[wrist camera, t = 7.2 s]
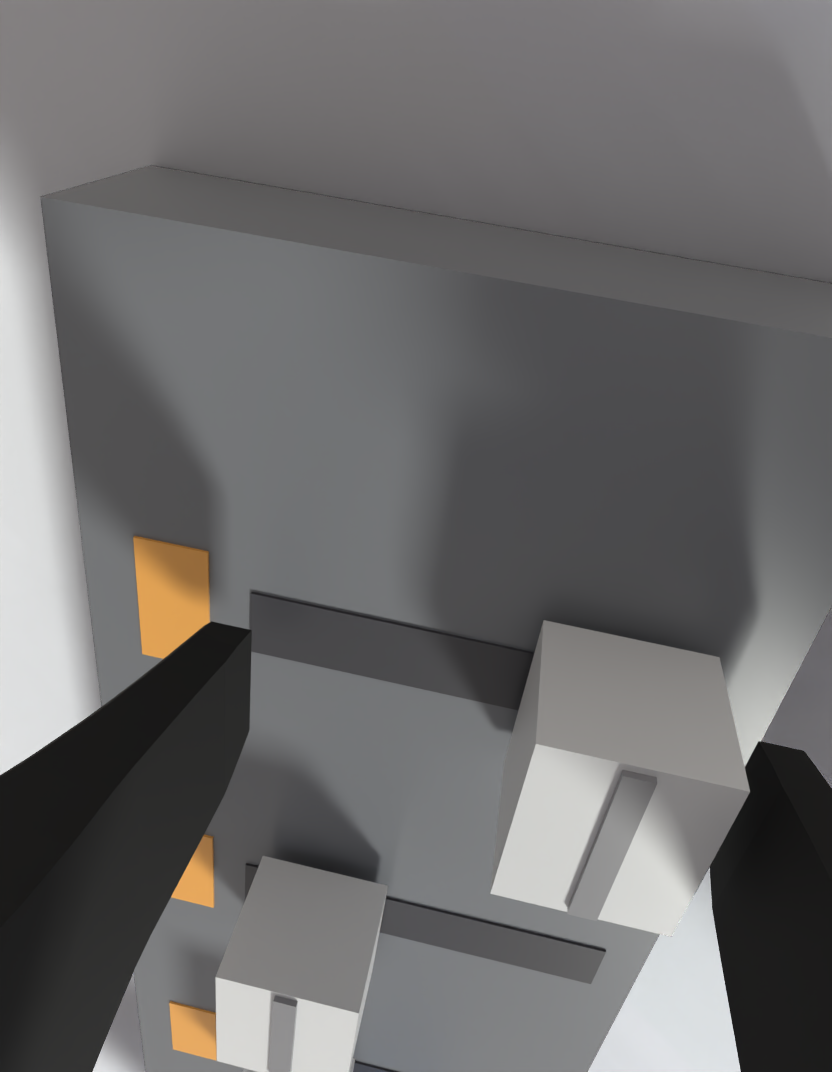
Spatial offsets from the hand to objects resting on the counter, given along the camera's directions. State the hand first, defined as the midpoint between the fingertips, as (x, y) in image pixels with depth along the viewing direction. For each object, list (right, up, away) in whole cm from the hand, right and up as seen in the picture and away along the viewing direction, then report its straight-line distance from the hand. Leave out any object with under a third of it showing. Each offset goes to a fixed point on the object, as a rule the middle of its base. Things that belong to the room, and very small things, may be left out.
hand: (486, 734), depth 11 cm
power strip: (-2, -5, +9) cm, 11 cm away
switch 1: (-3, -5, +5) cm, 7 cm away
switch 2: (+2, 0, +1) cm, 2 cm away
